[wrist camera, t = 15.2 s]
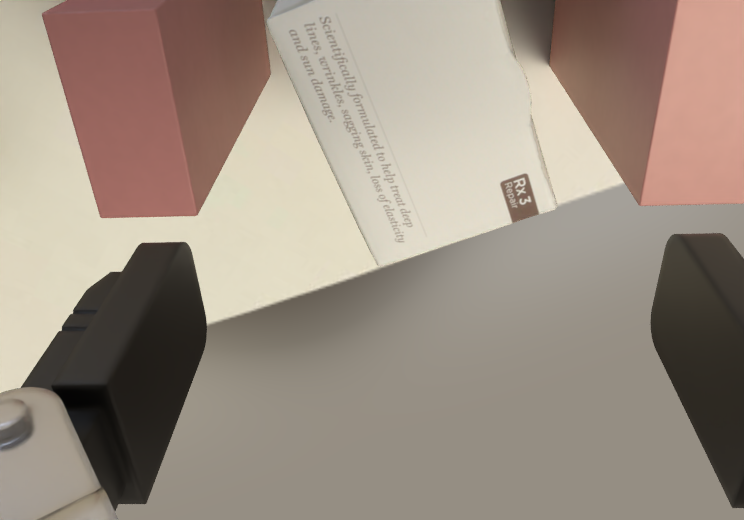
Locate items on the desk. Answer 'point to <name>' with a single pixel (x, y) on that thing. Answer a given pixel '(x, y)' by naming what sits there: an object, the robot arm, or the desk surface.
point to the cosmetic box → (417, 116)
